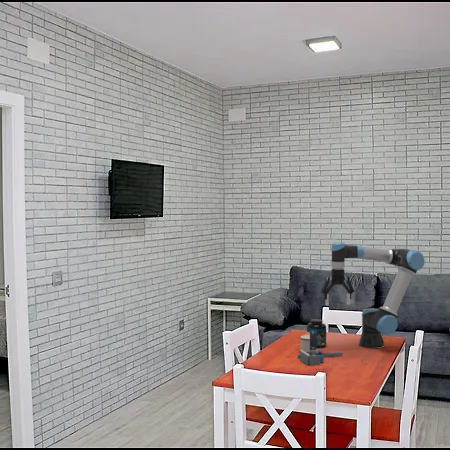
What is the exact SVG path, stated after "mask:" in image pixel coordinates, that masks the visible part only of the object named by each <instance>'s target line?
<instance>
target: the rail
mask: <svg viewBox="0 0 450 450" xmlns="http://www.w3.org/2000/svg"><path fill="white" fill-rule="evenodd" d="M322 354H323V355H324V358H335V357H336V358H337V357H338V358H339V357H343V352H342V351H339V352H337V351H336V352H322ZM296 358H297V360H300V354H297V357H296Z"/></svg>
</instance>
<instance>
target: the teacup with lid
mask: <svg viewBox="0 0 450 450" xmlns="http://www.w3.org/2000/svg"><path fill="white" fill-rule="evenodd" d="M299 338H300V350H303V351H307V349H310V333H307V332H306V333H305V334H304V335H301V336H300V337H299Z"/></svg>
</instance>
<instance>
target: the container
mask: <svg viewBox="0 0 450 450" xmlns="http://www.w3.org/2000/svg"><path fill="white" fill-rule="evenodd" d="M311 331H314V332H316V349H321V348H322V349H323V348H325V347H326V346H327V325H326V323H323V319H318V318H312V319H310V322H308V323H307V325H306V333H310V332H311Z"/></svg>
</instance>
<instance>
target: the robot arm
mask: <svg viewBox="0 0 450 450" xmlns="http://www.w3.org/2000/svg"><path fill="white" fill-rule="evenodd" d="M345 259H360V260H364V261H365V260H366V261H375V262H383V263H385V264H387V265H390V266H391V265H392V266H395V267H397V273H396V275H395V278H394V280H393V282H392V285H391V287H390V289H389V290H388V291H389V292H388V293H387V296H386V298H385V301H384V302H383V303H384V304H383V306H380V307H378V308H364V309H363V310H362V311H361V312H362V314H361V316H362V317H361V324H362V325H361V326H362V327H361V335H360V338H359V340H358V345H359V346H360V347H362V346H363V347H362V348H366V347H382V346H384V347H385V342H384V338H383V335H390V334H393V333H394V332H395V331H396V330H397V328H398V319H397V318H398V315H399V314H398V310H399V308H400V305H401V303H402V301H403V298H404V295H405V293H406V291H407V289H408V286H409V284H410V283H411V279H412V278H413V276H416V274H417V273H418V271H419V270H422V268H424V265H425V263H426V262H425V257H424V255H423V253H422V252H420V251H419V250H415V249H408V248H407V249H406V248H397V249H396V248H387V249H382V248H381V249H380V248H373V247H366V246H362V245H351V244H346V243H345V242H336V241H335V242H333V243H332V244H331V270H330V271H331V277H328V276H327V277H326V278H325V282H324V285H323V287H322V289H321V291H320V293H321V294H323V300H324V301H325V306H327V307H328V306H329V304H330V302H329V299H330V298H329V292H331V290H332V288H334V286H339V285H342V286H343V288H344V289H345V291H346V305H349V306H350V305H351V299H352V294H353V293H355V289H354V287H353V285H352V283H351V280H350V276H345V271H346V270H345V269H346V268H345V263H346V262H345ZM345 281H346V282H345ZM346 284H347V285H346ZM382 348H383V347H382Z"/></svg>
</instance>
